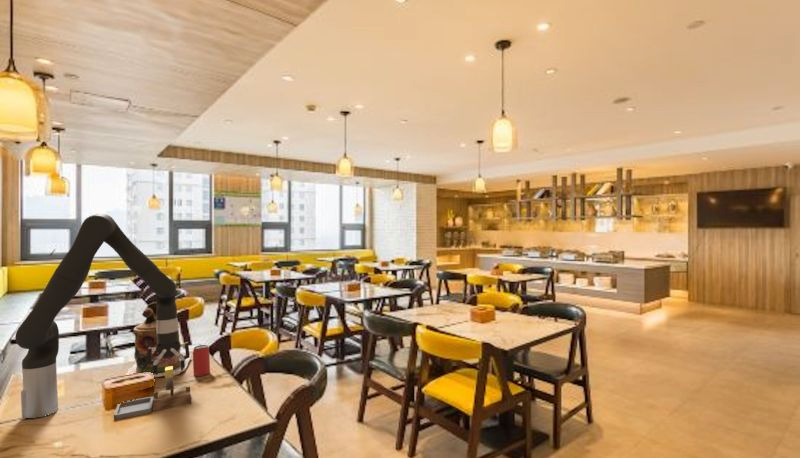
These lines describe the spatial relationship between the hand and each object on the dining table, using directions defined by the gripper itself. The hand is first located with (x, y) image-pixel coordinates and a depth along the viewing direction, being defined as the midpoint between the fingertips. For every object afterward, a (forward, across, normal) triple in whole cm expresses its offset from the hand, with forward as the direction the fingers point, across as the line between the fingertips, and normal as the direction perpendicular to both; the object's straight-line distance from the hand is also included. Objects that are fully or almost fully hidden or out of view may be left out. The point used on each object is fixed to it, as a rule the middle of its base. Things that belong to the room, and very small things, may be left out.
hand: (169, 371), depth 165 cm
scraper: (+9, 0, 0) cm, 9 cm away
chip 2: (+7, +3, -10) cm, 12 cm away
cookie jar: (+9, -6, +35) cm, 37 cm away
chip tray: (+8, -11, -10) cm, 17 cm away
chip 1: (+7, -2, -10) cm, 12 cm away
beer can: (+9, +12, +18) cm, 23 cm away
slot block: (+9, +1, -10) cm, 13 cm away
